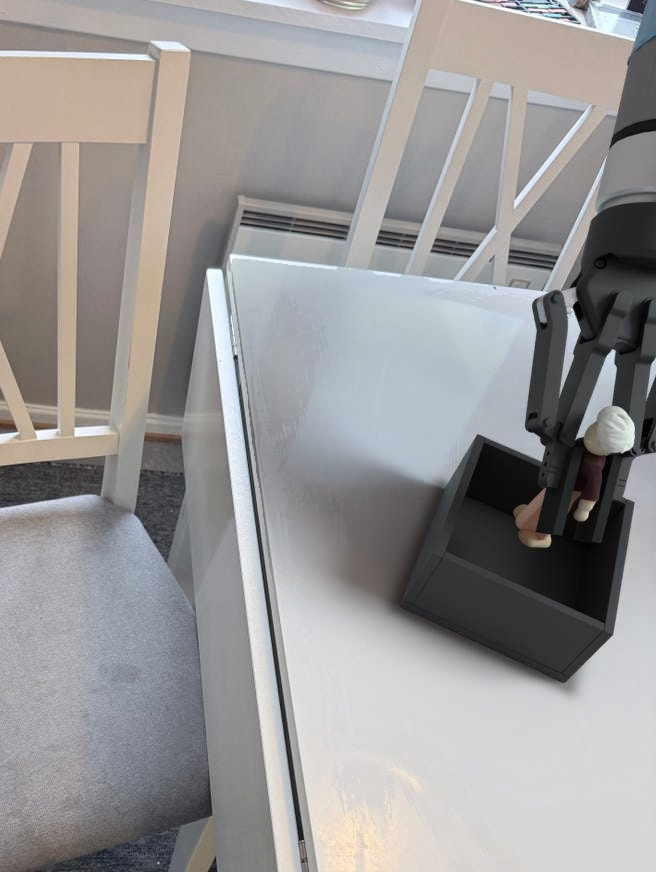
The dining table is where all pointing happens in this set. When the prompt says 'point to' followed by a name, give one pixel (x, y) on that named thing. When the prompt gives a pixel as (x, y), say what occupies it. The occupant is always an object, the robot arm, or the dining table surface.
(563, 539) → the bin
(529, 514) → the grandmother figurine
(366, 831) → the dining table surface
